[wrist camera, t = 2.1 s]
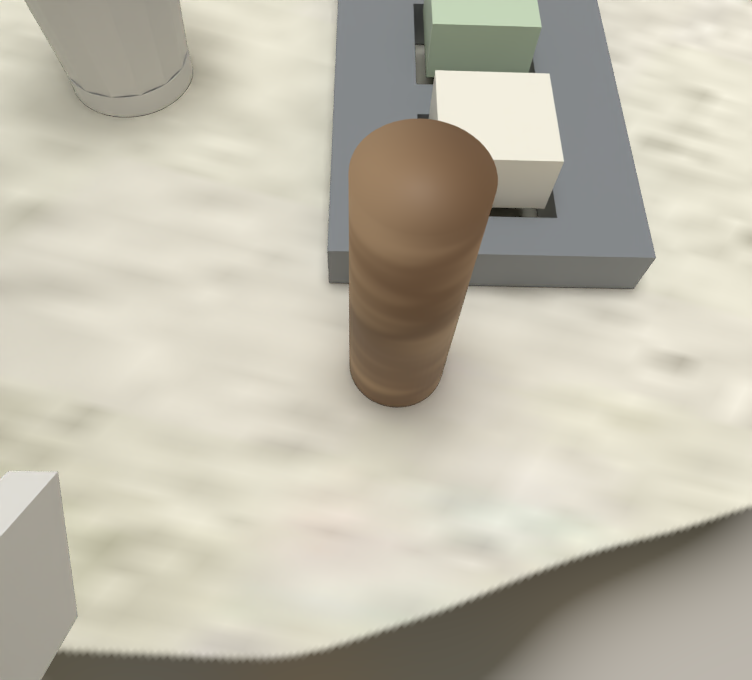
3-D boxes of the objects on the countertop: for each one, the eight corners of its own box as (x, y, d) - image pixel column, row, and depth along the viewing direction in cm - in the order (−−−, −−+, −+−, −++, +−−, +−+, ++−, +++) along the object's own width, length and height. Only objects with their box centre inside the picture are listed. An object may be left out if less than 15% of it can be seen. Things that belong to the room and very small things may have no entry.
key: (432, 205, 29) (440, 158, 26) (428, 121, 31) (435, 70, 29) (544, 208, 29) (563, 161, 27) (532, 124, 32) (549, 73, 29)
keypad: (329, 282, 30) (327, 250, 28) (343, -67, 42) (343, -109, 40) (633, 288, 30) (655, 258, 28) (562, -59, 42) (573, -100, 40)
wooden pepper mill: (348, 406, 27) (346, 233, 17) (350, 321, 29) (349, 116, 19) (444, 408, 28) (504, 236, 17) (440, 323, 29) (491, 120, 19)
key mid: (426, 77, 33) (432, 23, 30) (423, 10, 35) (428, -45, 32) (526, 79, 33) (541, 27, 30) (516, 13, 35) (530, -42, 33)
